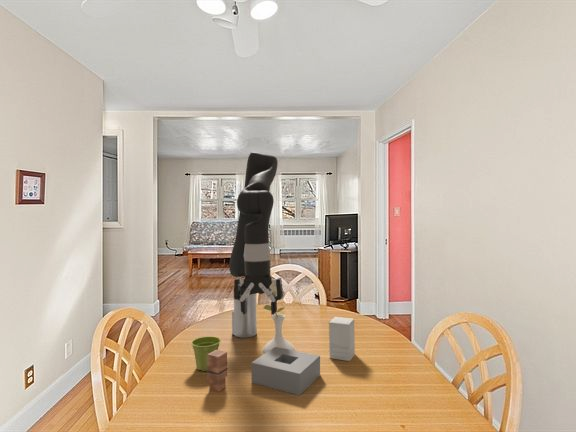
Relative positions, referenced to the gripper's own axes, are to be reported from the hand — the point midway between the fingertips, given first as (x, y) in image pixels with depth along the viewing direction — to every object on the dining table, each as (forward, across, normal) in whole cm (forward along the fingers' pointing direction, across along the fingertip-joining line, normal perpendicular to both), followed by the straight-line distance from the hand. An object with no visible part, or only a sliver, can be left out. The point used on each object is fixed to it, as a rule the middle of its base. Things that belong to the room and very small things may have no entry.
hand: (258, 313), depth 107 cm
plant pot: (+20, +20, -8) cm, 30 cm away
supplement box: (+21, -23, -24) cm, 40 cm away
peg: (+20, +12, +4) cm, 24 cm away
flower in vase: (+21, 0, -22) cm, 30 cm away
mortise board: (+21, -7, -4) cm, 22 cm away
